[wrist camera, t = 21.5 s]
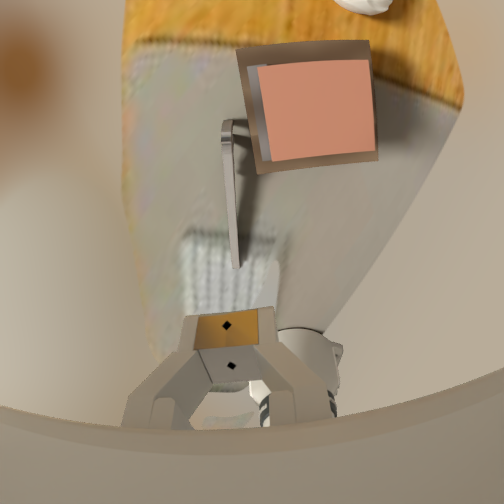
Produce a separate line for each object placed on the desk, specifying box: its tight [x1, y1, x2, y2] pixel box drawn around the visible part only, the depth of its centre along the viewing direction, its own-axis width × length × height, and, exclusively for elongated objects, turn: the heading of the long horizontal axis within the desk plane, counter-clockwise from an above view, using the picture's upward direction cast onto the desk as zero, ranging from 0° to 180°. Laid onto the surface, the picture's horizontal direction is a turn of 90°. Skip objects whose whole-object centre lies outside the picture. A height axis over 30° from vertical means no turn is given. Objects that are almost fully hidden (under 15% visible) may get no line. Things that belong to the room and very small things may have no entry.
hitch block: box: [236, 40, 378, 175], centre depth 28 cm, size 12×12×10 cm
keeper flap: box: [257, 60, 375, 162], centre depth 24 cm, size 9×8×1 cm
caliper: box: [221, 120, 240, 269], centre depth 37 cm, size 20×1×6 cm, turn 1°
